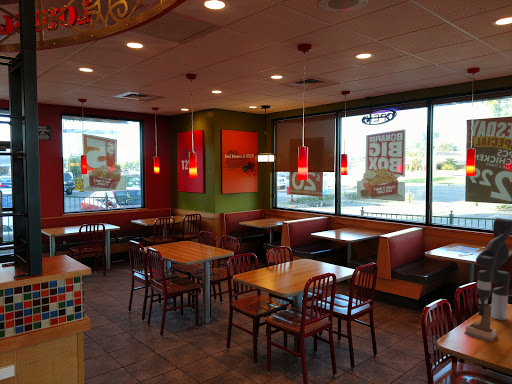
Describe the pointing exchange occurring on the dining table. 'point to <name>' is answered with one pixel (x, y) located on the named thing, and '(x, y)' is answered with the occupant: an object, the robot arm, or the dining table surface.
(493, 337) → the block holder
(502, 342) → the dining table surface
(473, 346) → the dining table surface
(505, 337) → the dining table surface
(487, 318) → the wooden block
